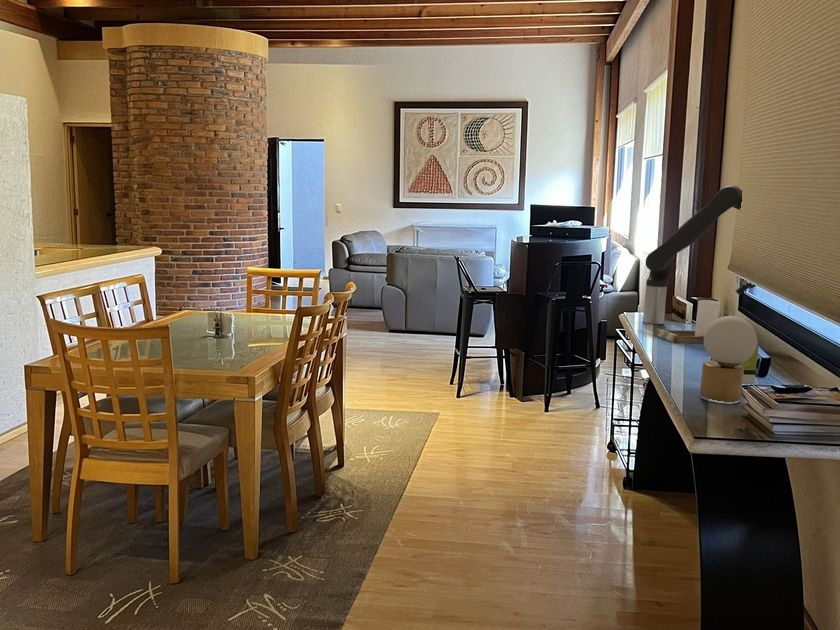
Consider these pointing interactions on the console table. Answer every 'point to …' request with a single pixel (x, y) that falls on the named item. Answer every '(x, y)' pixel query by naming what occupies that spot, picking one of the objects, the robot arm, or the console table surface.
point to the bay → (680, 336)
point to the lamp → (726, 357)
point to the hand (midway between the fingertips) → (737, 293)
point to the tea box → (749, 368)
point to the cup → (705, 315)
